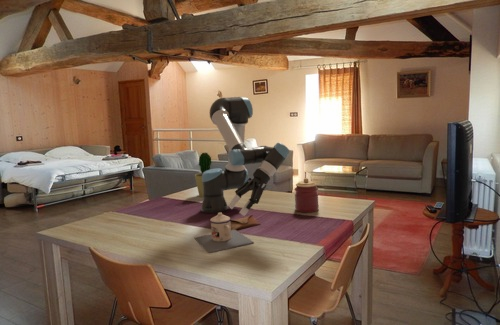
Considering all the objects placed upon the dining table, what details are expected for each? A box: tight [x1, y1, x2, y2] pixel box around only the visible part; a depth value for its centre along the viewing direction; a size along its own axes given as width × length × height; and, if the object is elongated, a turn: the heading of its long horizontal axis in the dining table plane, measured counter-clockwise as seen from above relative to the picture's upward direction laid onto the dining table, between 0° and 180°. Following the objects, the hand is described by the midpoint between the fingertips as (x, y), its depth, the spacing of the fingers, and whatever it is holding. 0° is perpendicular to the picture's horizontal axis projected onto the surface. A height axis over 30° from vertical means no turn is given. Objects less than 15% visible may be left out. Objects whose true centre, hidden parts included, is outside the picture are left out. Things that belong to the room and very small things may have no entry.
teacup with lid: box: [209, 212, 232, 242], centre depth 164 cm, size 12×9×12 cm
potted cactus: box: [194, 152, 212, 198], centre depth 253 cm, size 15×15×30 cm
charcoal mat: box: [194, 230, 255, 254], centre depth 164 cm, size 20×20×1 cm
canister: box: [293, 177, 320, 213], centre depth 206 cm, size 13×13×18 cm
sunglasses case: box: [230, 214, 262, 231], centre depth 184 cm, size 18×7×7 cm, turn 125°
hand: (235, 210), depth 165 cm, fingers open, 13 cm apart
